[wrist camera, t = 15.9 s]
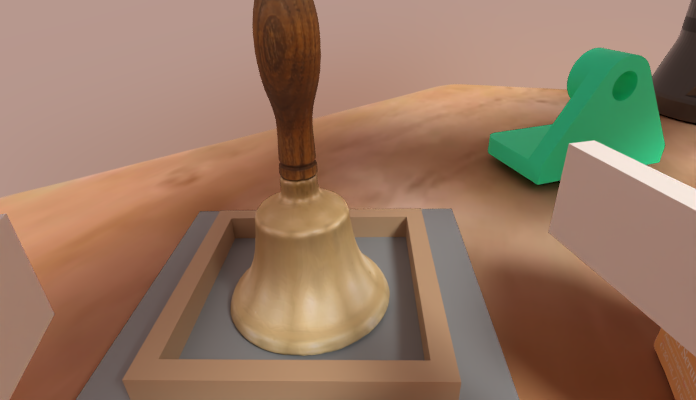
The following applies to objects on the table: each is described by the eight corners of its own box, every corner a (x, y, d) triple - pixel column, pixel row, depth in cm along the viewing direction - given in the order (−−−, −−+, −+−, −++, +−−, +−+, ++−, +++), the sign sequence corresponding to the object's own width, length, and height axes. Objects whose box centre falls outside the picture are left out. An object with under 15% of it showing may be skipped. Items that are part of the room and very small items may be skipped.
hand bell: (226, 266, 25) (160, -47, 18) (359, 239, 27) (353, -53, 20) (237, 379, 18) (136, -58, 11) (416, 331, 20) (440, -64, 13)
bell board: (450, 220, 31) (453, 189, 30) (541, 492, 15) (555, 449, 14) (202, 223, 32) (195, 193, 30) (41, 483, 16) (13, 441, 15)
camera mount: (587, 143, 43) (615, 34, 38) (655, 174, 37) (698, 48, 32) (481, 160, 40) (496, 45, 35) (534, 197, 34) (562, 62, 29)
